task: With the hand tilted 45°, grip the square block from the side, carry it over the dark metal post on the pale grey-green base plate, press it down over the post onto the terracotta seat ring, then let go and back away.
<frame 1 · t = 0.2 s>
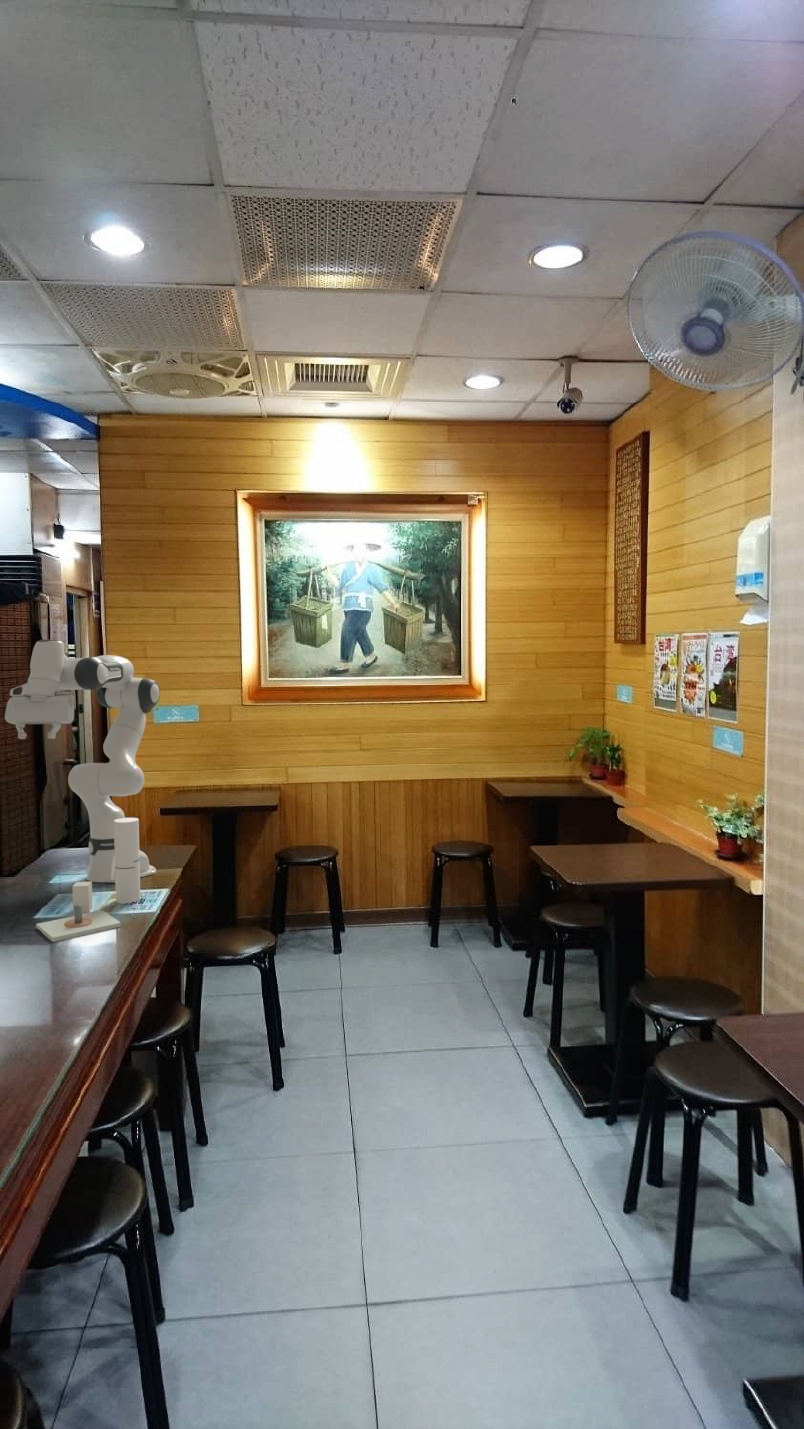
hand: (36, 738, 224), 51 cm above the counter, tool tilted 20°, fingers open, 8 cm apart
base plate: (78, 927, 215), on the counter
cylindrical container: (128, 900, 239), on the counter
square block: (83, 910, 229), on the counter
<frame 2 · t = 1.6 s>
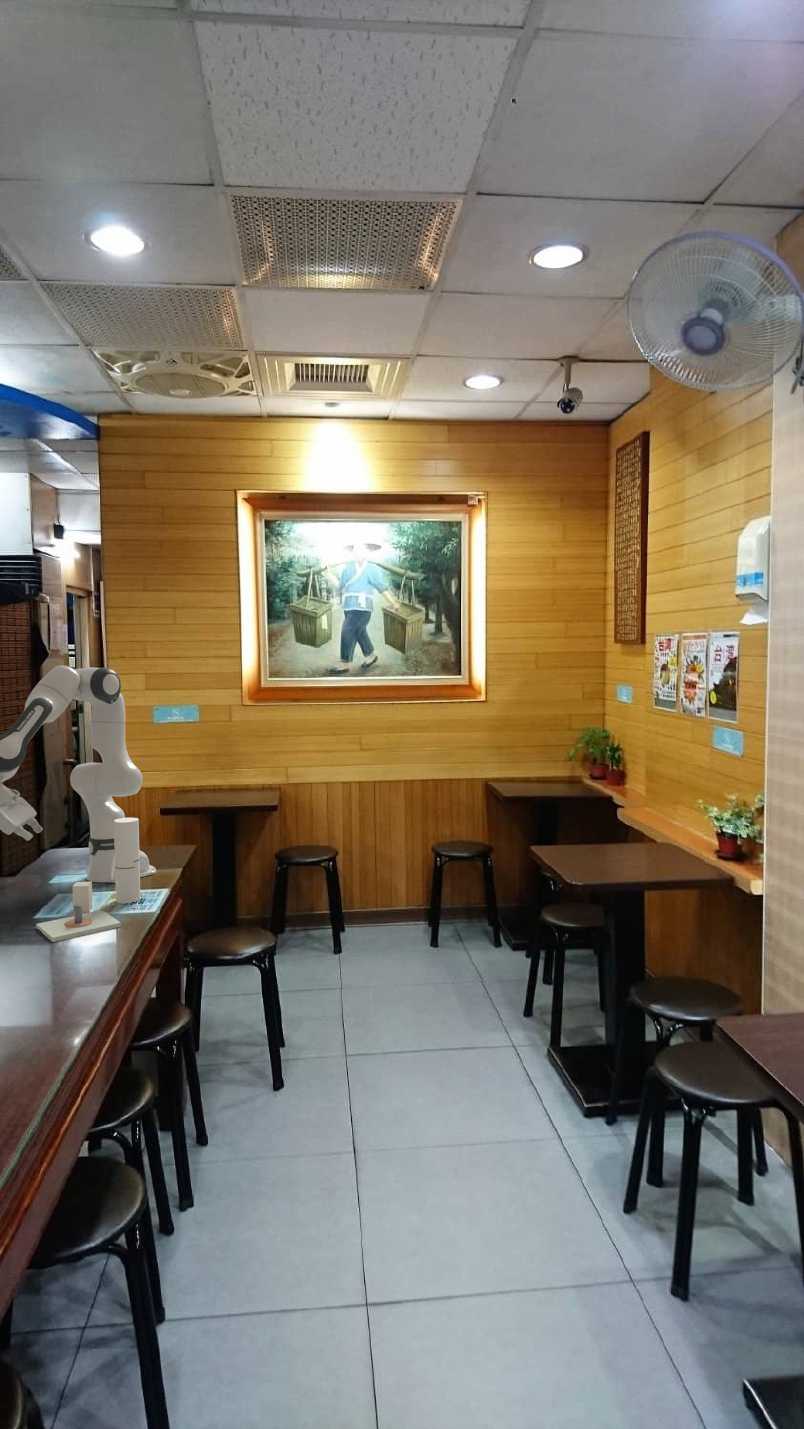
hand: (35, 835, 226), 23 cm above the counter, tool tilted 45°, fingers open, 8 cm apart
nothing on the counter moved.
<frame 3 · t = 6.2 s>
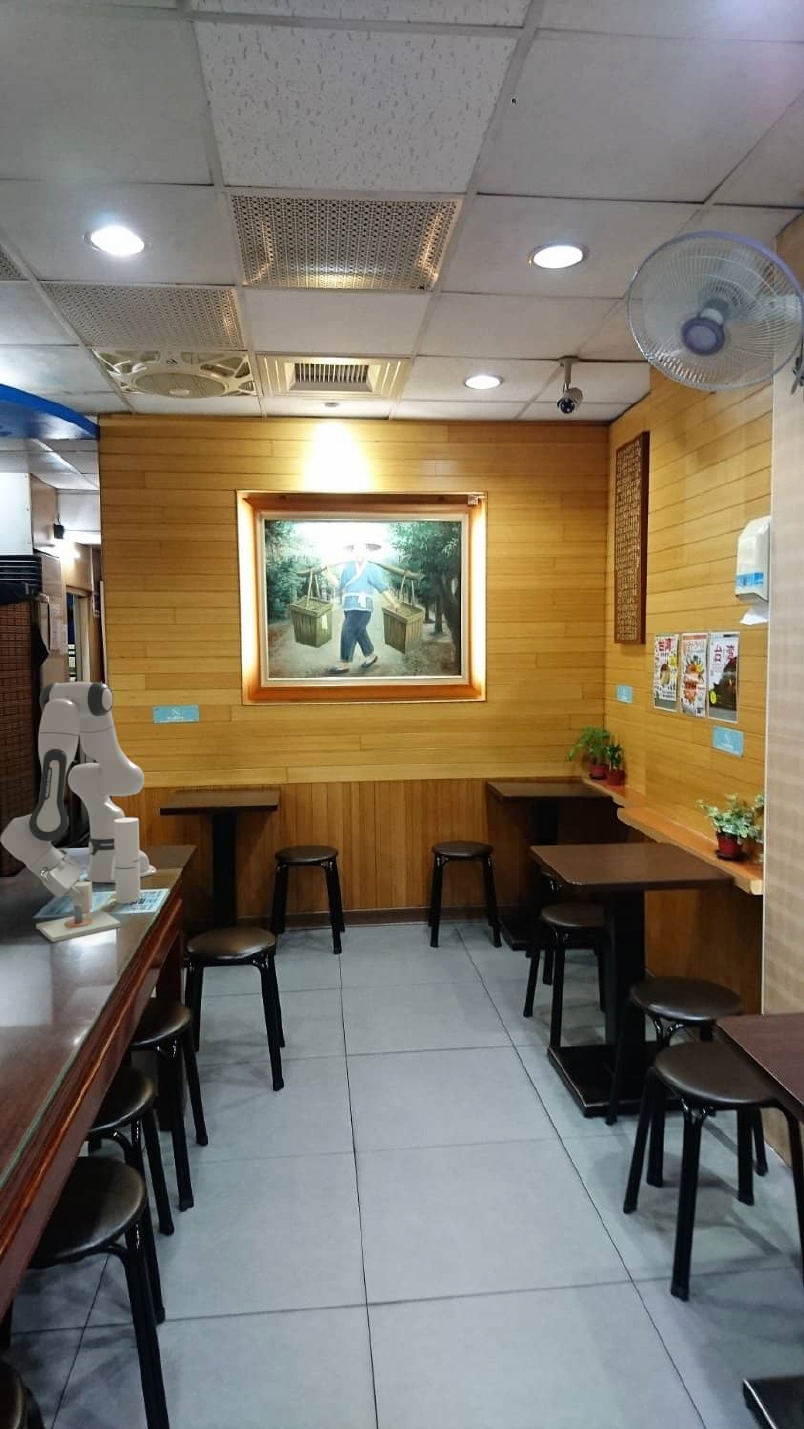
hand: (84, 895, 229), 5 cm above the counter, tool tilted 45°, fingers closed on square block, 4 cm apart
square block: (83, 910, 229), on the counter, touching gripper
everything else where it was.
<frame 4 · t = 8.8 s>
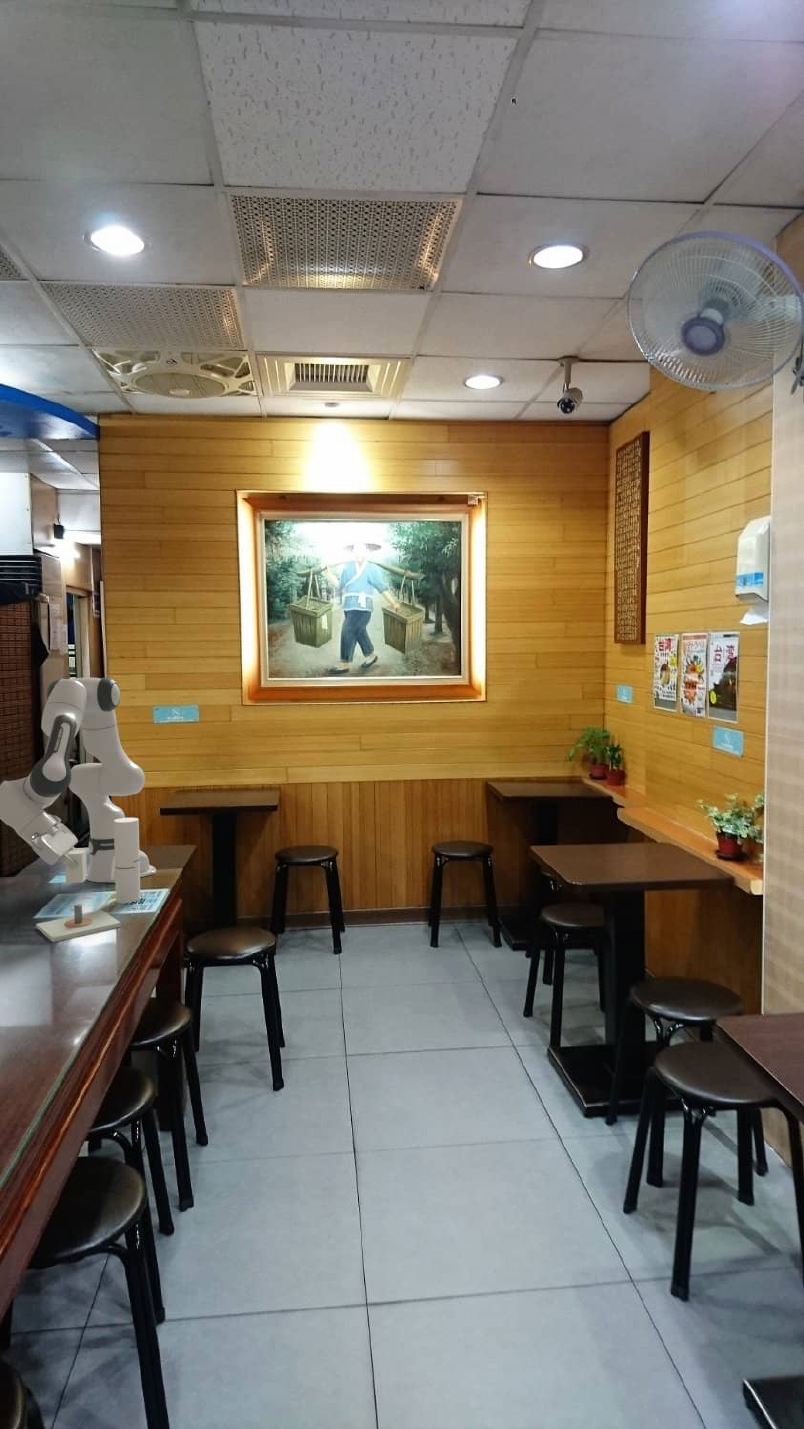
hand: (78, 864, 214), 18 cm above the counter, tool tilted 45°, fingers closed on square block, 4 cm apart
square block: (76, 880, 214), point 13 cm above the counter, touching gripper
everything else where it was.
when the fingers open (7 cm above the counter, at t = 11.5 s): square block stays where it is, resting on base plate.
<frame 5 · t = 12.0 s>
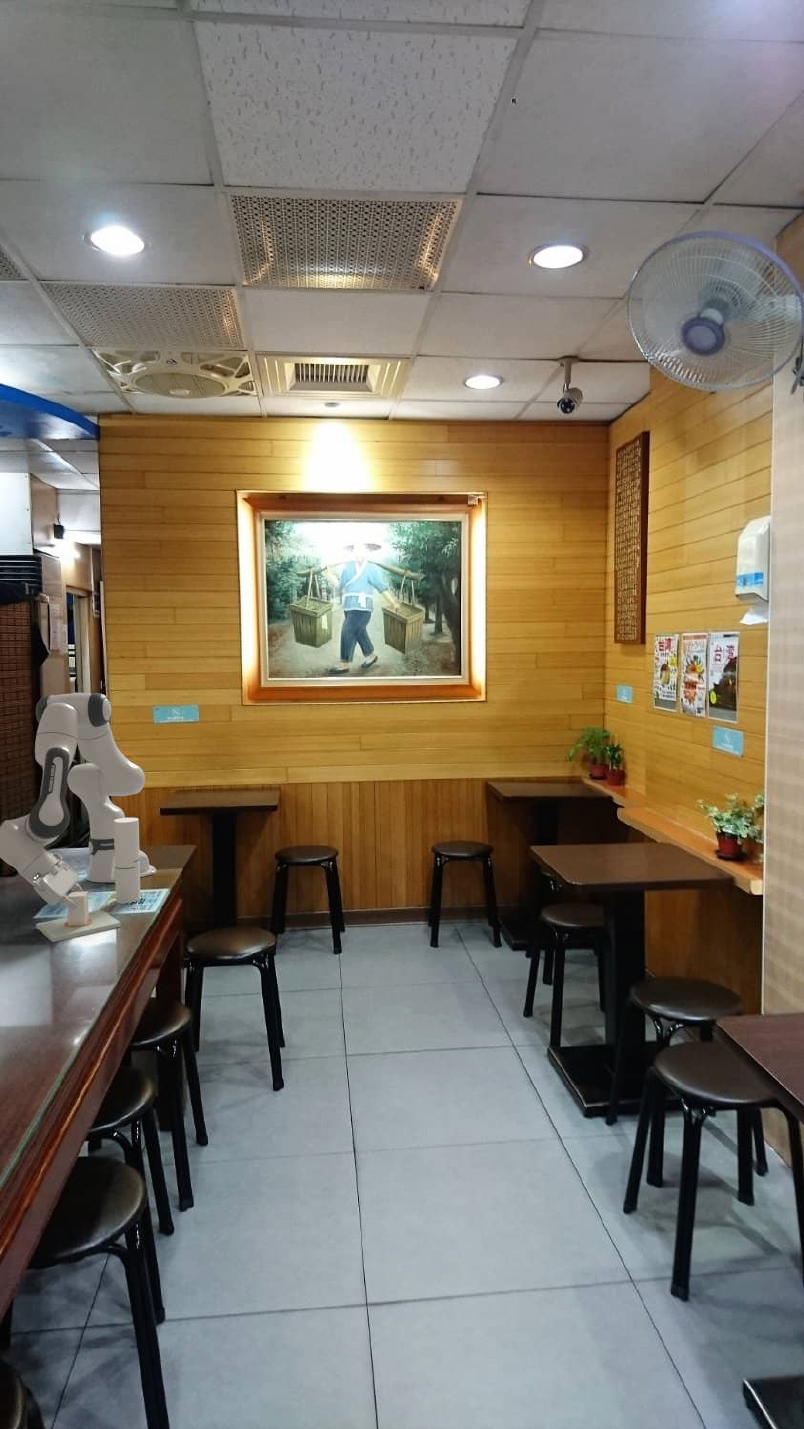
hand: (80, 902, 215), 7 cm above the counter, tool tilted 45°, fingers open, 8 cm apart
square block: (78, 922, 215), point 1 cm above the counter, touching base plate
everything else where it was.
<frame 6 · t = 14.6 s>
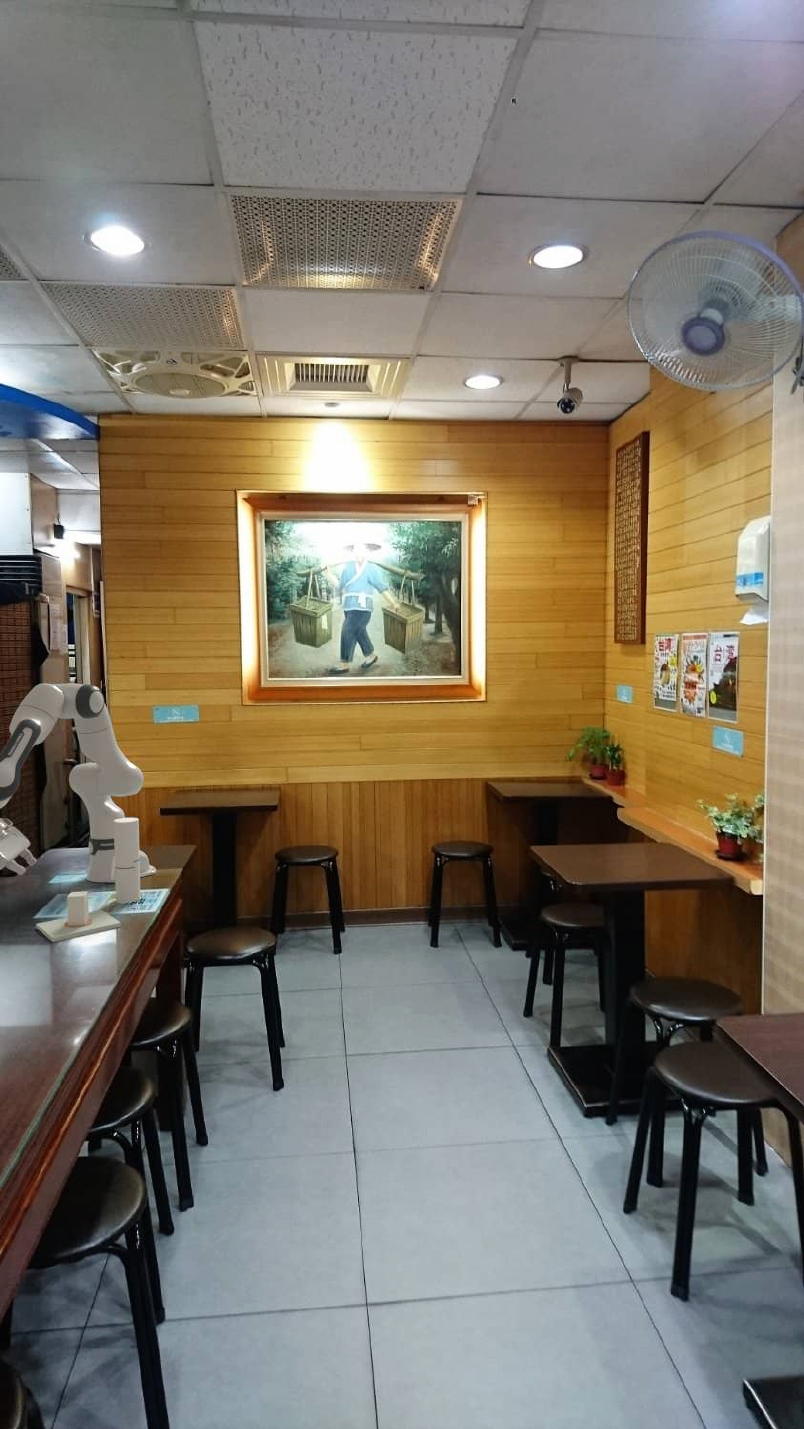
hand: (29, 868, 212), 17 cm above the counter, tool tilted 45°, fingers open, 8 cm apart
nothing on the counter moved.
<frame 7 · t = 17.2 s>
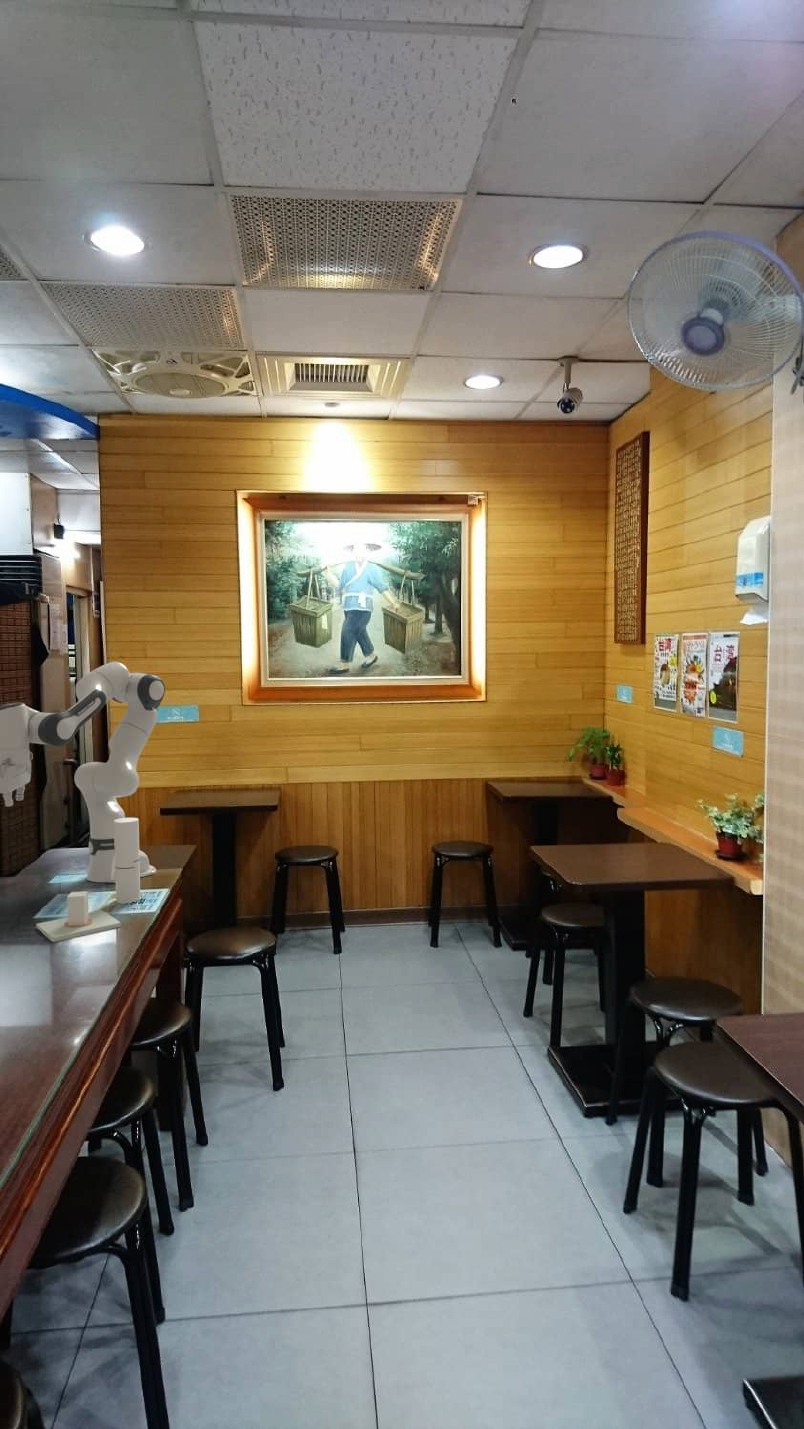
hand: (14, 803, 232), 31 cm above the counter, tool pointing down, fingers open, 8 cm apart
nothing on the counter moved.
at the end: square block 0.1 cm off-centre on the base plate, point 1.4 cm above the base plate's base; square block tilted 0°; the gripper is holding nothing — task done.
